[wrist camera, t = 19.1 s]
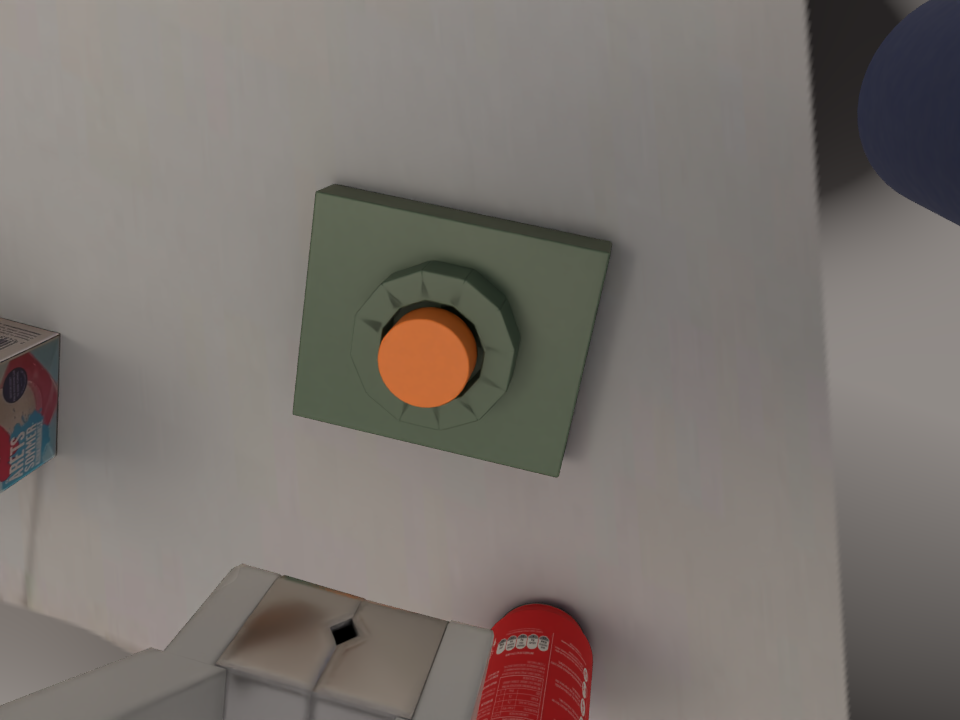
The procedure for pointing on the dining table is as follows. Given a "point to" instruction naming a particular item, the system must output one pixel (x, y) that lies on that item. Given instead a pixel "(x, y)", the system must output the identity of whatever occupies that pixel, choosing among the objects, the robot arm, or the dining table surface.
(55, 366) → the juice carton
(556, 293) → the push button box
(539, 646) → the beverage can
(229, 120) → the dining table surface
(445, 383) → the button
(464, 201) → the dining table surface
